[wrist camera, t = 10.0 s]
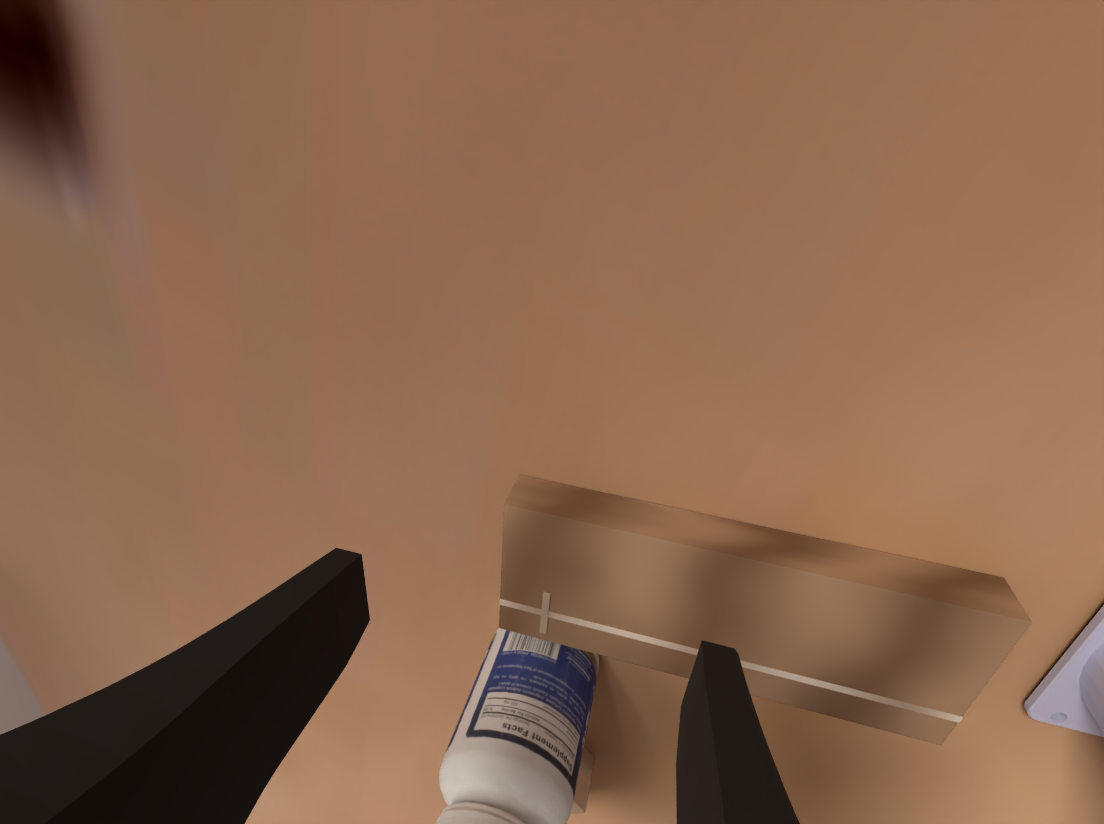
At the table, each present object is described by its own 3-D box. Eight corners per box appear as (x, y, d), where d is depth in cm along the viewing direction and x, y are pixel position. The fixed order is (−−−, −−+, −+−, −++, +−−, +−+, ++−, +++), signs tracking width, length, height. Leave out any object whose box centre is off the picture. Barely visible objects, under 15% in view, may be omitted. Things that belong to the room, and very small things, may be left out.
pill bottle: (555, 696, 29) (493, 929, 21) (476, 636, 28) (380, 853, 20) (624, 657, 26) (585, 907, 18) (539, 589, 26) (458, 817, 17)
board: (1004, 577, 20) (1033, 623, 18) (924, 698, 23) (942, 747, 21) (519, 474, 23) (503, 505, 21) (512, 594, 26) (498, 629, 24)
